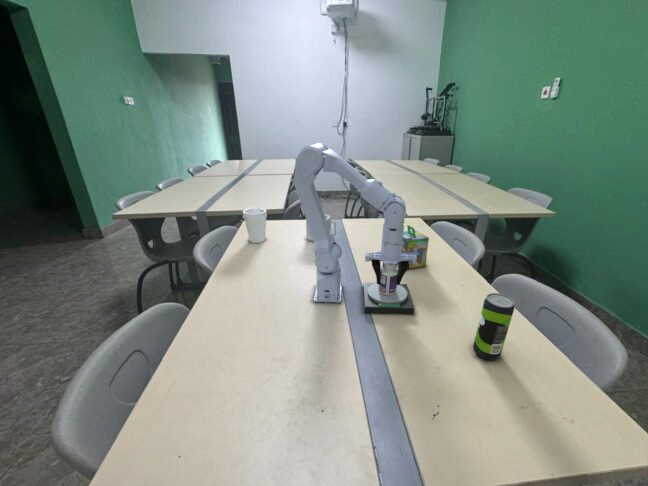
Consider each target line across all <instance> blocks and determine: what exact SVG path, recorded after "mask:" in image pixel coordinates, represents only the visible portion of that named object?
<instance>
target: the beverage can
mask: <svg viewBox="0 0 648 486" xmlns="http://www.w3.org/2000/svg"><path fill="white" fill-rule="evenodd" d="M514 311H515V301H514V300H513V298H511V297H510V296H508V295H505V294H503V293H498V292H490V293H488V294H487V295H486V297H485V298H484V300H483V304H482V309H481V312H480V317H479V321H478V325H477V328H476V333H475V336H474V341H473V346H472V348H473V350H474V353H475V354H476V355H477V356H478V357H480V358H482V359H483V360H486V361H495V360H496V359H499V358H500V357H501V355H502V352H503V348H504V345H505V341H506V339H507V335H508V331H509V328H510V325H511V321H512V319H513V318H512V317H513V315H514Z"/></svg>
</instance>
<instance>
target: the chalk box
mask: <svg viewBox="0 0 648 486" xmlns="http://www.w3.org/2000/svg"><path fill="white" fill-rule="evenodd" d="M406 226H407V230H406V231H405V230H404V231H403V241H402V250H401V253H406V254H412V255H416V257H417V258H416V263H412V262H409V269H408V270H411V269H415V268H421V267H426V266H427V258H428V257H427V256H428V249H429V241H430V237H429V236H427V235H425V234H423V233H421V232H420V231H417V230H416V229H415V228H414V227H413V226H411V225H409V224H407V225H406ZM397 264H398V262H397Z"/></svg>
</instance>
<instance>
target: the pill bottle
mask: <svg viewBox="0 0 648 486" xmlns="http://www.w3.org/2000/svg"><path fill="white" fill-rule="evenodd" d="M397 280H398V263H397V262H387V261H382V267H381V269H380V284H379V292H380V293H381V294H383V295H394V294H395V293H396V290H397Z"/></svg>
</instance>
